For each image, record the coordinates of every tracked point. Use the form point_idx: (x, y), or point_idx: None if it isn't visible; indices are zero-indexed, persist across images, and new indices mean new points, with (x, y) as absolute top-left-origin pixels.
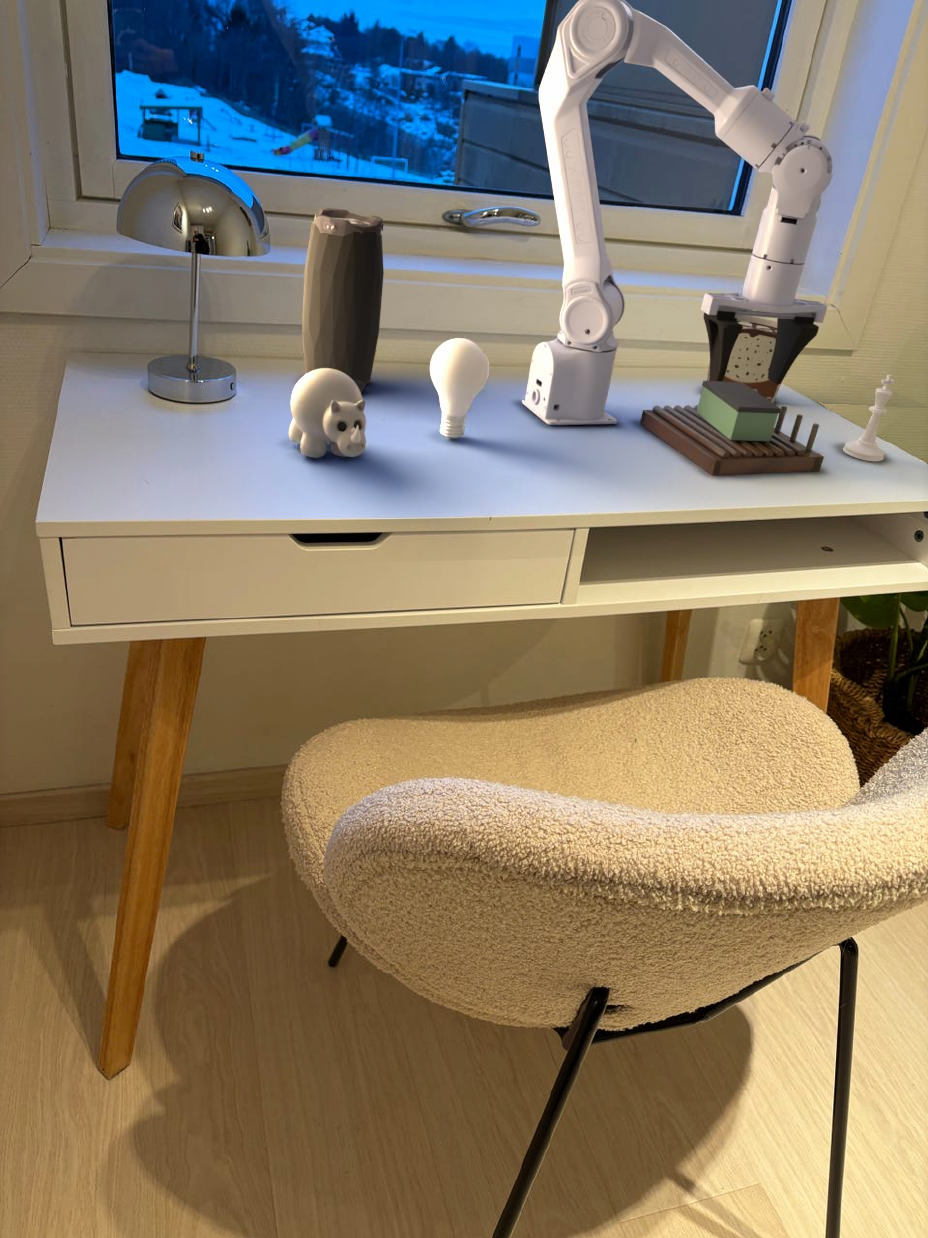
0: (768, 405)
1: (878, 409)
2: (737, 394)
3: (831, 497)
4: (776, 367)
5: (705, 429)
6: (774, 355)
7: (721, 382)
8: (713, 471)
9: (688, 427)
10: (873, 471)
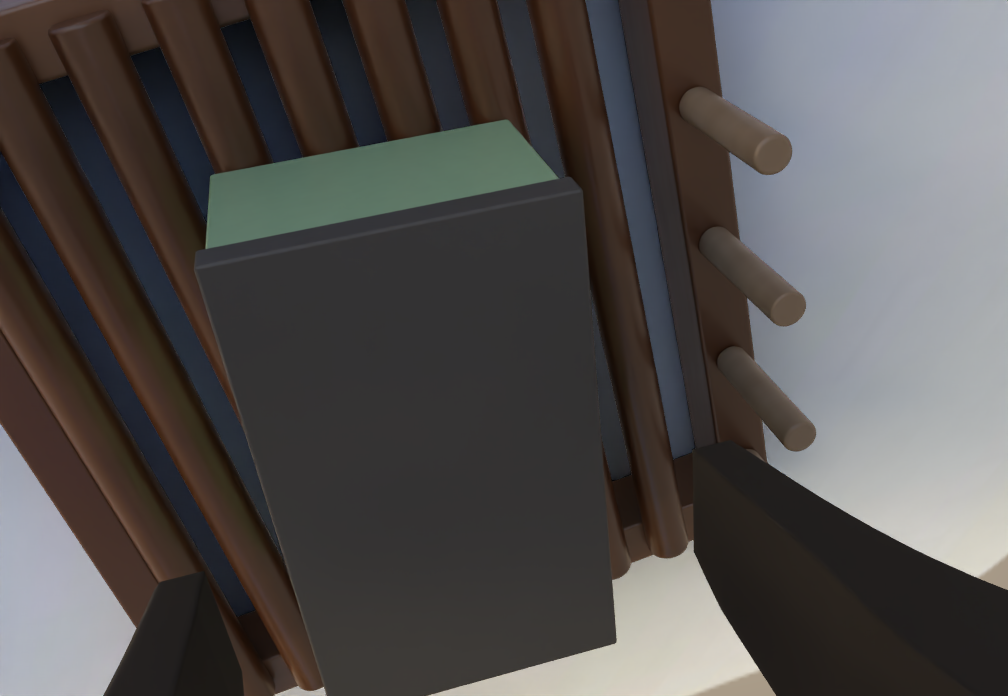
0: (556, 624)
1: None
2: (410, 505)
3: (649, 682)
4: (744, 580)
5: (227, 397)
6: (792, 565)
7: (367, 260)
8: None
9: (97, 464)
10: (1001, 392)
